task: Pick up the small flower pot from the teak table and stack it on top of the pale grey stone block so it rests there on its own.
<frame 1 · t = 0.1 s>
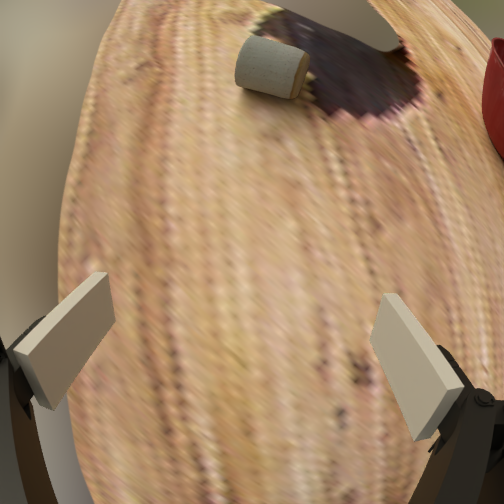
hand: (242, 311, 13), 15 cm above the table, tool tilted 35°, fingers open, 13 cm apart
ceramic mug: (272, 82, 37), on the table
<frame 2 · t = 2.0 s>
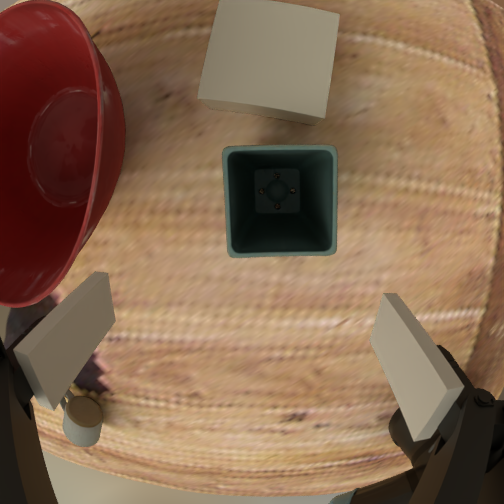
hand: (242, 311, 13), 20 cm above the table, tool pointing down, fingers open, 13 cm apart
flower pot: (277, 189, 31), on the table
mixing bowl: (70, 147, 31), on the table
ceramic mug: (84, 404, 44), on the table
stone block: (270, 68, 27), on the table
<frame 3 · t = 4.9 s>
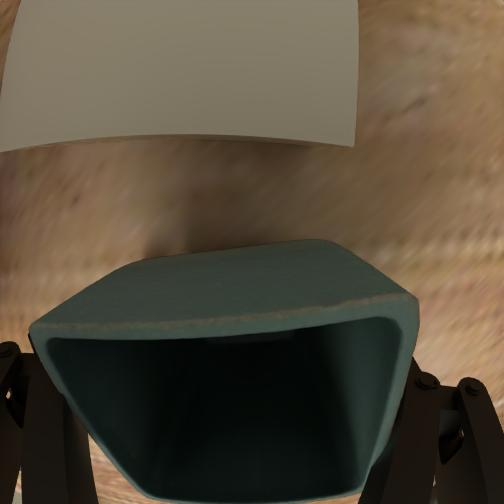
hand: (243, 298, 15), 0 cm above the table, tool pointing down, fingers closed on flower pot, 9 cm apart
flower pot: (246, 296, 15), on the table, touching gripper
stone block: (196, 27, 10), on the table
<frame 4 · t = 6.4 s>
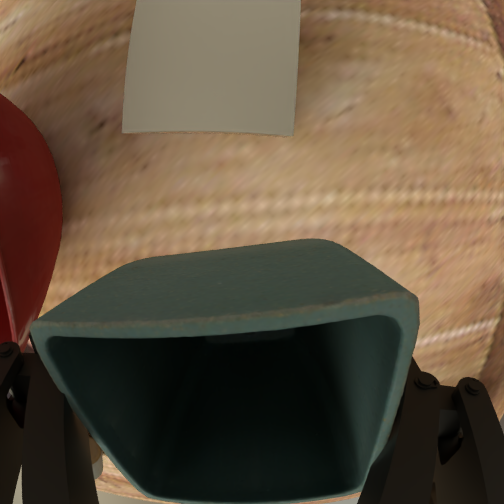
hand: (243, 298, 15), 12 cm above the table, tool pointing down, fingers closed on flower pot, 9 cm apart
flower pot: (246, 295, 15), point 11 cm above the table, touching gripper
mixing bowl: (16, 197, 25), on the table
ceramic mug: (83, 439, 41), on the table
stone block: (220, 69, 21), on the table
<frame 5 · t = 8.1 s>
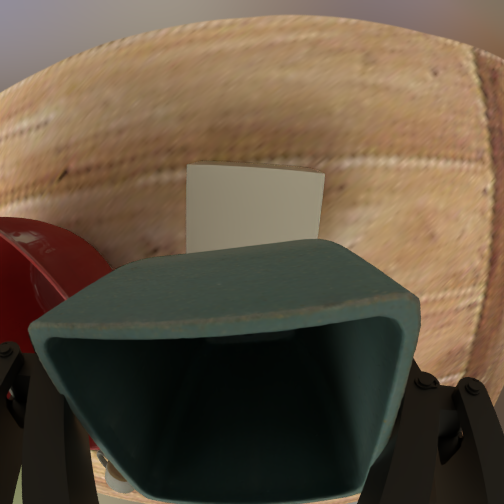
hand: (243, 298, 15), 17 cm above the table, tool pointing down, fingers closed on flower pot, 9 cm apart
flower pot: (246, 296, 15), point 16 cm above the table, touching gripper
mixing bowl: (75, 290, 35), on the table
ceramic mug: (120, 459, 50), on the table
stone block: (253, 217, 30), on the table
when the fingers open (7 cm above the table, at t = 10.6 s): flower pot drops 1 cm, resting on stone block.
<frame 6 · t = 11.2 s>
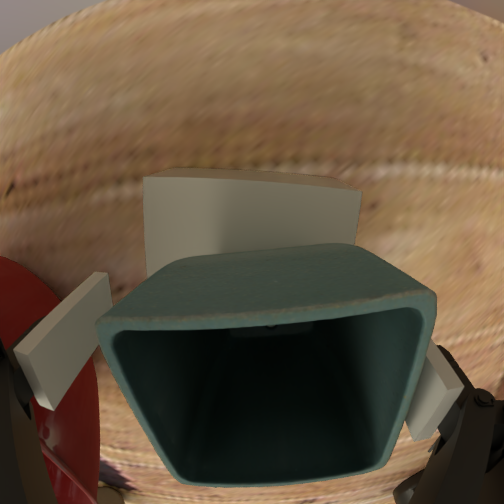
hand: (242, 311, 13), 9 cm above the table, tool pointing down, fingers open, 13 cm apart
flower pot: (270, 293, 16), point 6 cm above the table, touching stone block
mixing bowl: (36, 327, 26), on the table
ceramic mug: (106, 488, 41), on the table
stone block: (249, 247, 22), on the table
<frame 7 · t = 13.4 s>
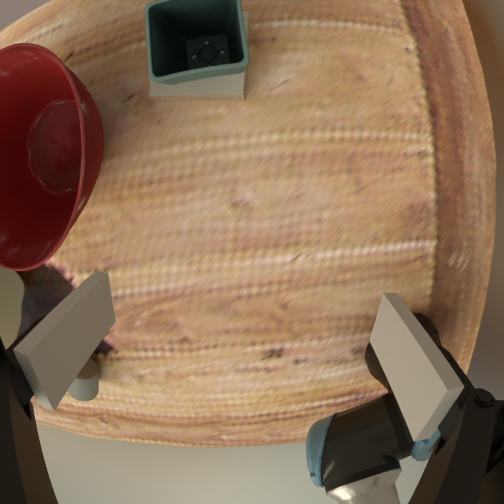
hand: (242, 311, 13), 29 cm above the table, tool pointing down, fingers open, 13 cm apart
flower pot: (209, 54, 28), point 6 cm above the table, touching stone block
mixing bowl: (62, 147, 38), on the table
ceramic mug: (83, 363, 54), on the table
stone block: (206, 62, 34), on the table
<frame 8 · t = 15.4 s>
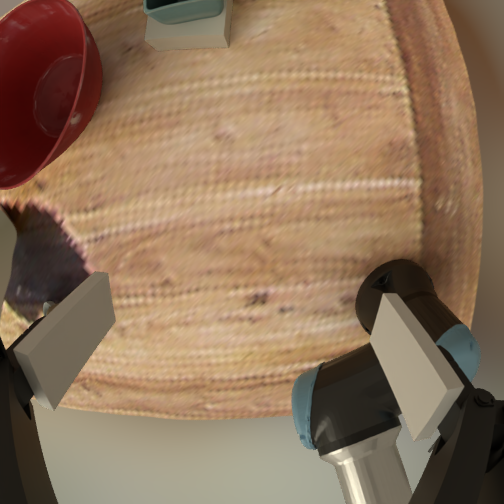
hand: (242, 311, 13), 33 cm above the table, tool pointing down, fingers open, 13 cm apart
flower pot: (196, 6, 29), point 6 cm above the table, touching stone block
mixing bowl: (65, 96, 39), on the table
ceramic mug: (65, 316, 54), on the table
stone block: (195, 19, 35), on the table
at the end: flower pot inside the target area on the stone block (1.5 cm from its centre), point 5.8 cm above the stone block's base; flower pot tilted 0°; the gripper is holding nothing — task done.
